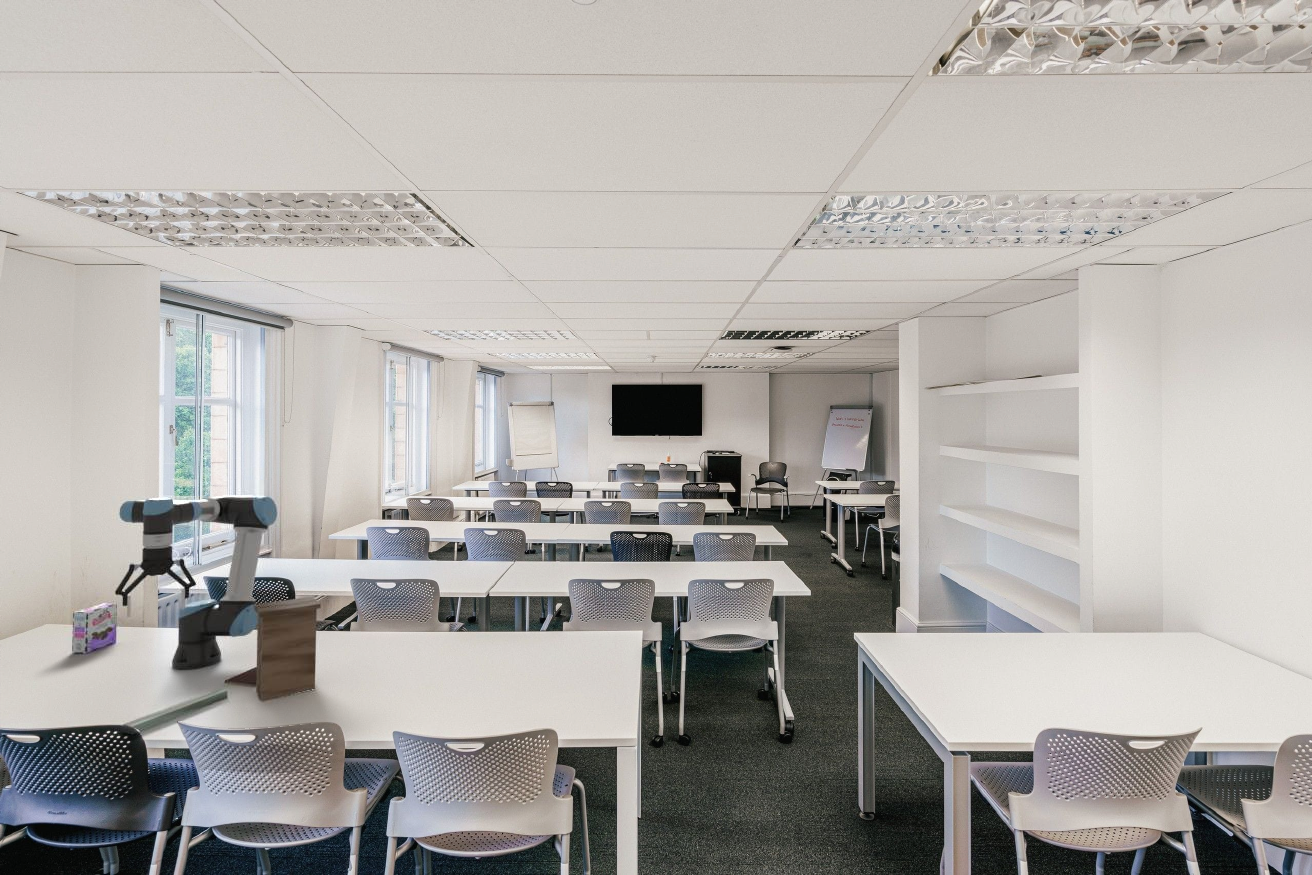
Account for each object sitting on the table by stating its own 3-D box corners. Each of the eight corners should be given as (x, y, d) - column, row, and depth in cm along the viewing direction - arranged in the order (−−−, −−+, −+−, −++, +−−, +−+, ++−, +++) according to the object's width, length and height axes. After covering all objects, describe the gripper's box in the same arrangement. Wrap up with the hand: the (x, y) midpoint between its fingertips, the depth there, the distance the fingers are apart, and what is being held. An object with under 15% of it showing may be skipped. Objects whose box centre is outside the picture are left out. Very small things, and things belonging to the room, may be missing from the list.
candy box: (86, 653, 243) (86, 612, 243) (71, 653, 243) (72, 611, 243) (117, 642, 257) (117, 602, 257) (103, 641, 257) (103, 602, 257)
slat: (123, 733, 183) (123, 723, 183) (219, 697, 209) (219, 688, 209) (131, 736, 181) (131, 726, 181) (227, 699, 207) (227, 690, 207)
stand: (252, 691, 213) (254, 604, 213) (310, 678, 225) (312, 596, 225) (258, 703, 204) (260, 612, 204) (318, 689, 216) (320, 603, 216)
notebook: (224, 684, 219) (224, 678, 219) (269, 664, 239) (269, 659, 239) (260, 689, 216) (260, 683, 216) (303, 668, 236) (303, 663, 236)
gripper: (105, 552, 188) (104, 621, 188) (206, 544, 205) (205, 608, 205) (106, 548, 194) (104, 615, 194) (204, 540, 210) (202, 603, 210)
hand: (156, 612), depth 199 cm, fingers open, 13 cm apart
